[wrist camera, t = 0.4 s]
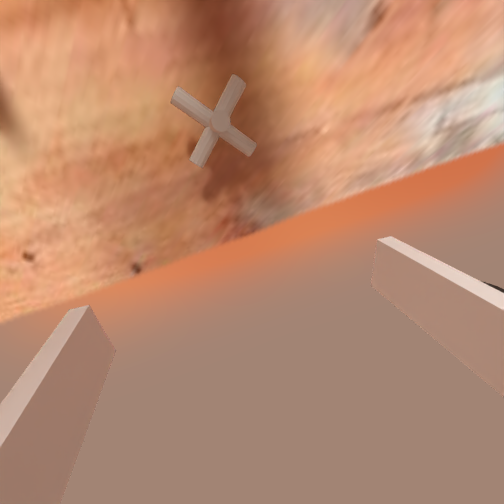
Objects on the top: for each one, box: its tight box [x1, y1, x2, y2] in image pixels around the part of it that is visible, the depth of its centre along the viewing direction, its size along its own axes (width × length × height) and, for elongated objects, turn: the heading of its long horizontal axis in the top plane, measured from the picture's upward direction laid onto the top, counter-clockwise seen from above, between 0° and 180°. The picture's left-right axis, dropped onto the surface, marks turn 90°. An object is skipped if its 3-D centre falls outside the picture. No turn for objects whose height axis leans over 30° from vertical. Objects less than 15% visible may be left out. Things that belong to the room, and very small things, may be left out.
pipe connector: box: [171, 74, 257, 168], centre depth 27 cm, size 10×10×10 cm
